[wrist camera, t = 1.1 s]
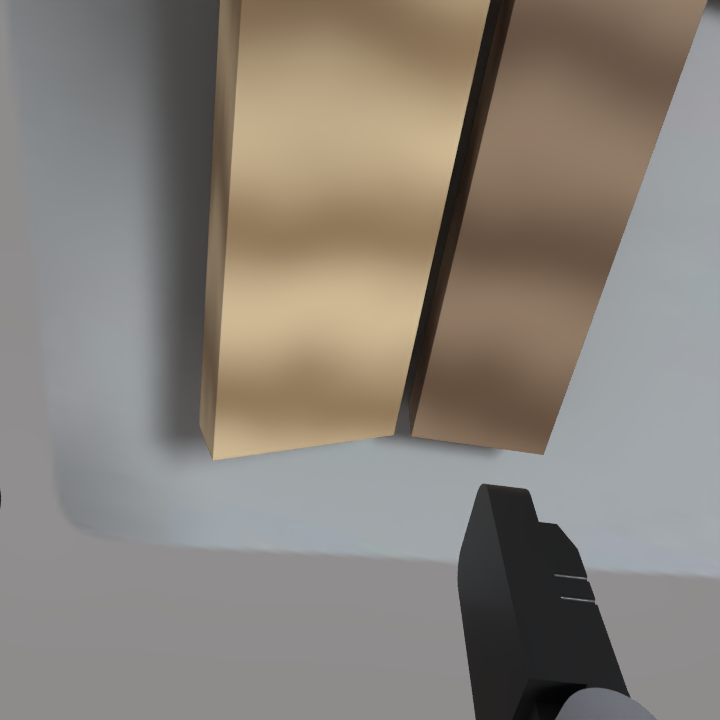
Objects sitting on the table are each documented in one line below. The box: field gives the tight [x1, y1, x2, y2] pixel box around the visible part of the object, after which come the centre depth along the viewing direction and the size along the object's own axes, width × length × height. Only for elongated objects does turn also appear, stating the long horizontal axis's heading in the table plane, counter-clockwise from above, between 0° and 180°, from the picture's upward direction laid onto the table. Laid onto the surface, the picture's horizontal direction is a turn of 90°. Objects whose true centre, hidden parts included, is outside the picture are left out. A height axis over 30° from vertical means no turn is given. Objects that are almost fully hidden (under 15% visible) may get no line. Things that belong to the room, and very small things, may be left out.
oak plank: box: [199, 0, 490, 460], centre depth 24 cm, size 20×8×2 cm, turn 171°
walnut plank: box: [409, 0, 707, 455], centre depth 26 cm, size 20×6×2 cm, turn 171°
